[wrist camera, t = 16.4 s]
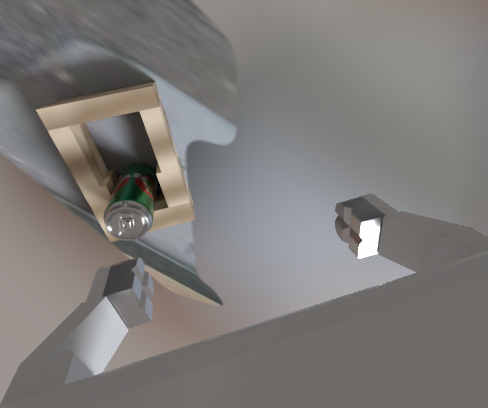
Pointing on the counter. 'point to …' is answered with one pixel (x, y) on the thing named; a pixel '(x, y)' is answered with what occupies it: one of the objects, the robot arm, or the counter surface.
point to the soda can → (132, 203)
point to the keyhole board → (91, 163)
